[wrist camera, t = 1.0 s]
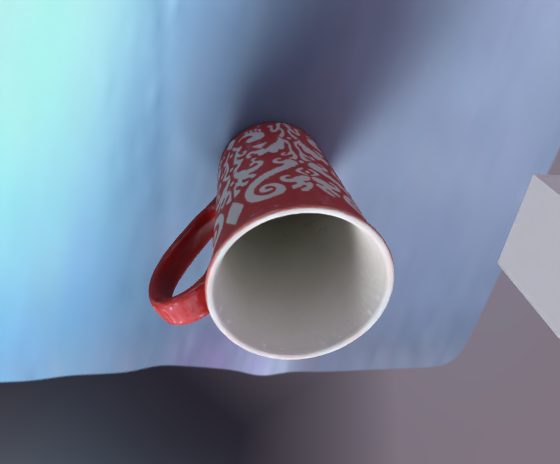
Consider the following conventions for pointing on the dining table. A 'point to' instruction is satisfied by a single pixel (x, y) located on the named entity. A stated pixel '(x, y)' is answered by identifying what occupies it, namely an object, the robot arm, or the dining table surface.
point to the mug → (279, 252)
